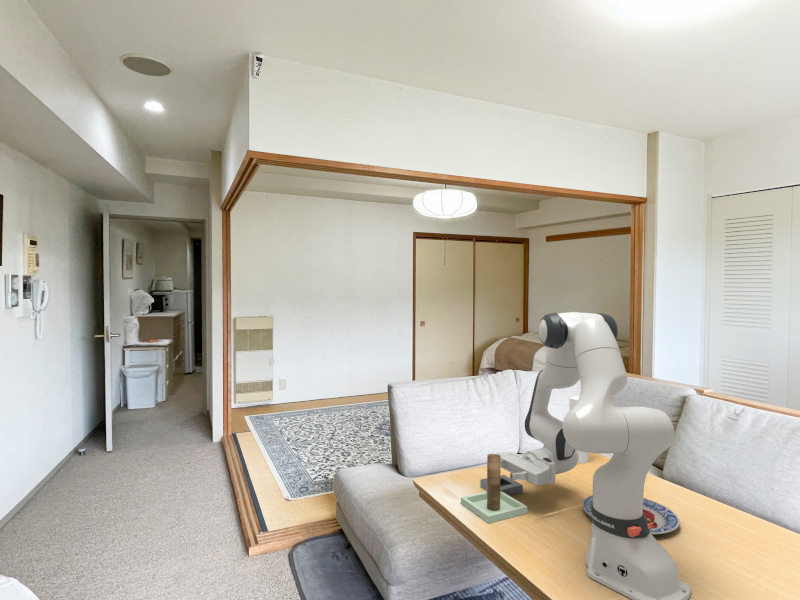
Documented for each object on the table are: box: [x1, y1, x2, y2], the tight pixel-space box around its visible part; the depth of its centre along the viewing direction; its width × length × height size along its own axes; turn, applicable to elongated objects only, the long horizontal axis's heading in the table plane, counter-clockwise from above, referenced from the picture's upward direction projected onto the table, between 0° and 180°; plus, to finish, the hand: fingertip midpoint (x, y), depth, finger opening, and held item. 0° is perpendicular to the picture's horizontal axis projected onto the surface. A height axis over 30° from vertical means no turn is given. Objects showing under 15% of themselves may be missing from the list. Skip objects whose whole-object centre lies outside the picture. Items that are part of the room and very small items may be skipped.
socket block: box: [479, 474, 524, 497], centre depth 157 cm, size 10×10×3 cm
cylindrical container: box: [569, 395, 590, 464], centre depth 186 cm, size 7×7×25 cm
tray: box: [460, 490, 529, 524], centre depth 143 cm, size 14×14×2 cm
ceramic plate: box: [582, 494, 680, 535], centre depth 138 cm, size 26×26×3 cm
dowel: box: [486, 453, 501, 511], centre depth 143 cm, size 4×4×16 cm
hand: (501, 471), depth 144 cm, fingers open, 8 cm apart
